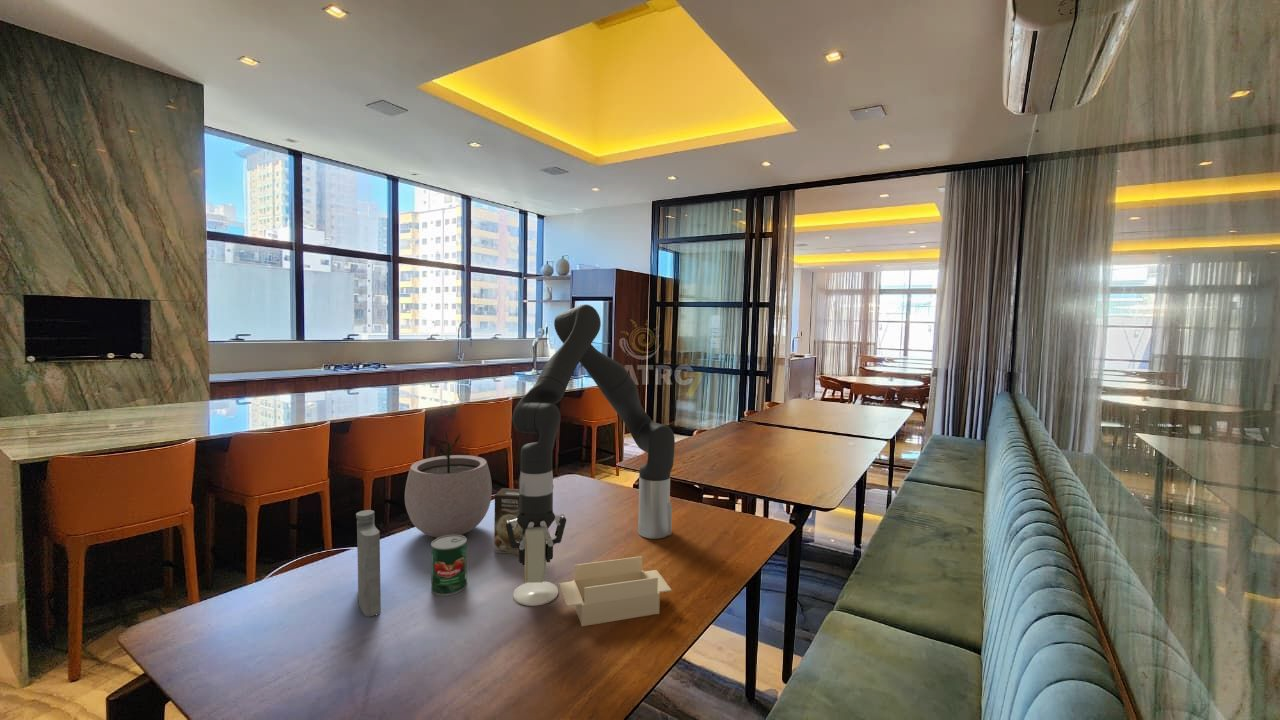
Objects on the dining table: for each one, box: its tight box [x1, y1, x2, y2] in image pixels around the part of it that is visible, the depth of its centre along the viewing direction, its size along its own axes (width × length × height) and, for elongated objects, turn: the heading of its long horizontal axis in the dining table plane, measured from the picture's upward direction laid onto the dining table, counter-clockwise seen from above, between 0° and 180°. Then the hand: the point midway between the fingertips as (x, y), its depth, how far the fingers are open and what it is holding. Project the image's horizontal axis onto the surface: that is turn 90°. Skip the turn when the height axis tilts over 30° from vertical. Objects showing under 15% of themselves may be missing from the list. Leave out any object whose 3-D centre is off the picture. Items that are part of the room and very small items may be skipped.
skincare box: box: [524, 527, 547, 584], centre depth 119 cm, size 6×4×12 cm
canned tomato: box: [430, 535, 468, 596], centre depth 121 cm, size 8×8×11 cm
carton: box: [558, 555, 672, 627], centre depth 114 cm, size 23×11×8 cm, turn 108°
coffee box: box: [493, 487, 523, 555], centre depth 142 cm, size 9×6×16 cm
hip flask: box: [355, 509, 382, 617], centre depth 115 cm, size 16×4×20 cm, turn 31°
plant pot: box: [404, 432, 493, 538], centre depth 152 cm, size 24×24×30 cm
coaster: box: [513, 580, 559, 607], centre depth 119 cm, size 10×10×1 cm
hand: (535, 562), depth 119 cm, fingers closed on skincare box, 5 cm apart
